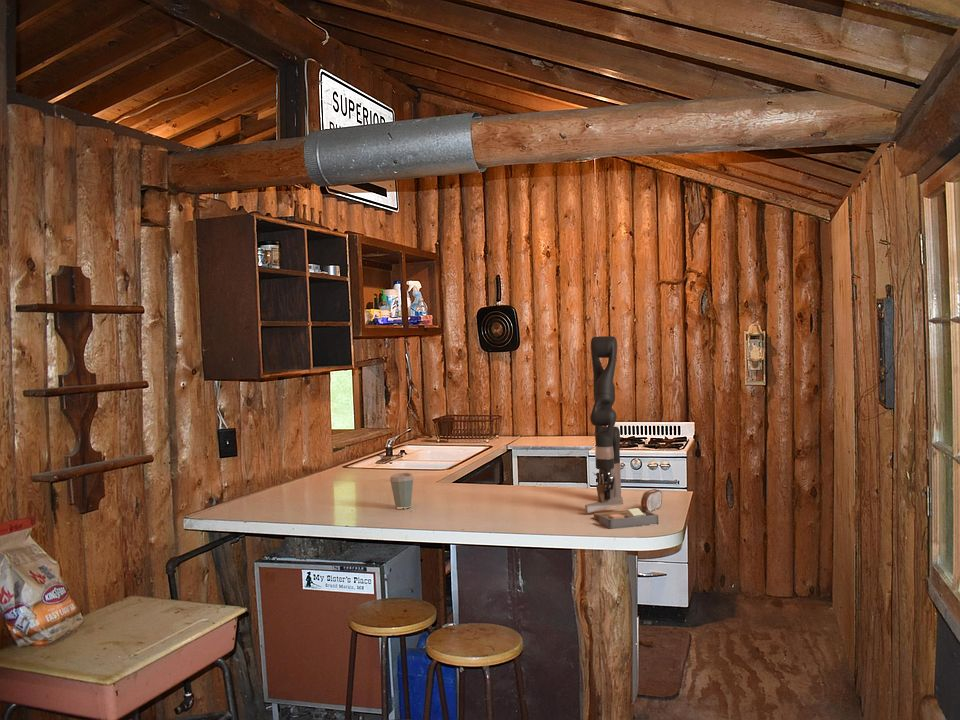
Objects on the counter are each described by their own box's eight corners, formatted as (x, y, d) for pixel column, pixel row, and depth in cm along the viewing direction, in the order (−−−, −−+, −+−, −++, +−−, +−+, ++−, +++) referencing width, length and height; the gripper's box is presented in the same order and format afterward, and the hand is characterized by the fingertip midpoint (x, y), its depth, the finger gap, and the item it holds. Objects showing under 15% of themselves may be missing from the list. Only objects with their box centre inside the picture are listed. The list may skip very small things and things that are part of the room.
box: (599, 523, 298) (599, 515, 298) (647, 519, 304) (647, 510, 304) (609, 529, 290) (609, 519, 290) (658, 524, 295) (658, 515, 295)
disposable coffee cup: (410, 510, 334) (409, 476, 334) (387, 510, 336) (386, 476, 336) (417, 505, 344) (416, 472, 344) (394, 505, 347) (393, 472, 346)
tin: (657, 506, 327) (656, 487, 327) (663, 507, 325) (663, 487, 325) (640, 513, 316) (639, 492, 316) (647, 514, 314) (646, 493, 314)
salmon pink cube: (608, 522, 299) (608, 514, 299) (618, 521, 300) (618, 513, 300) (613, 524, 294) (613, 517, 294) (624, 523, 296) (624, 516, 296)
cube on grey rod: (585, 511, 317) (581, 488, 316) (620, 503, 321) (616, 479, 320) (588, 513, 314) (584, 489, 313) (623, 504, 318) (619, 480, 317)
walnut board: (593, 518, 309) (593, 513, 308) (632, 514, 313) (632, 509, 313) (603, 523, 299) (603, 518, 299) (643, 519, 303) (643, 514, 303)
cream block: (626, 515, 302) (628, 509, 300) (636, 514, 303) (638, 507, 302) (632, 522, 298) (634, 515, 297) (642, 520, 299) (644, 514, 298)
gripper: (589, 455, 323) (590, 496, 323) (603, 459, 309) (604, 502, 310) (605, 454, 325) (607, 495, 325) (620, 458, 311) (621, 501, 311)
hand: (605, 498), depth 317 cm, fingers closed on cube on grey rod, 3 cm apart
